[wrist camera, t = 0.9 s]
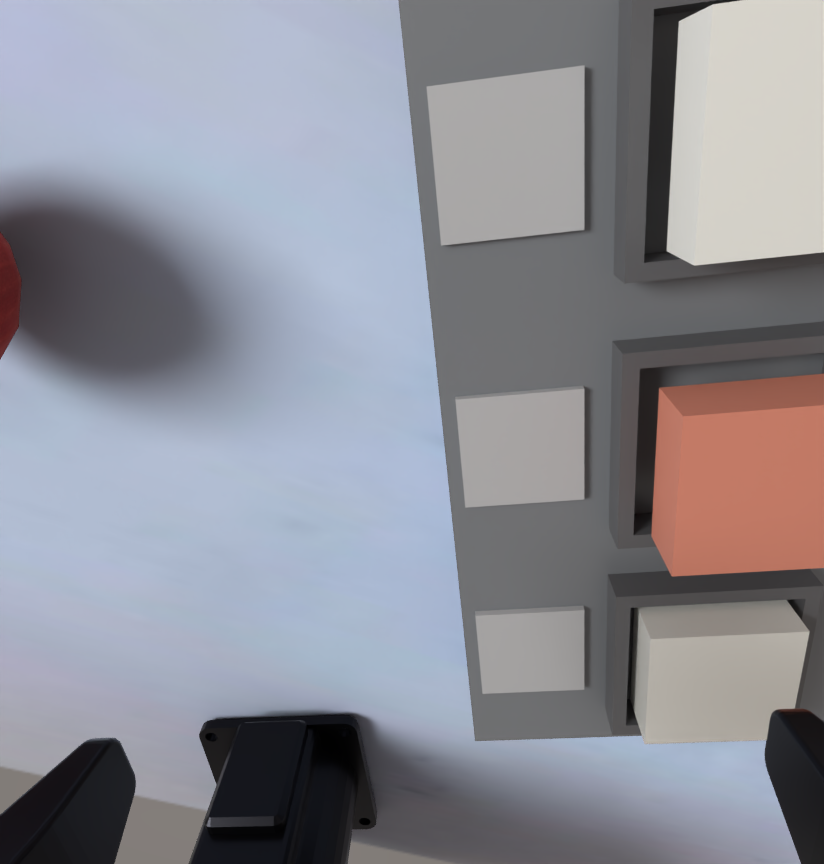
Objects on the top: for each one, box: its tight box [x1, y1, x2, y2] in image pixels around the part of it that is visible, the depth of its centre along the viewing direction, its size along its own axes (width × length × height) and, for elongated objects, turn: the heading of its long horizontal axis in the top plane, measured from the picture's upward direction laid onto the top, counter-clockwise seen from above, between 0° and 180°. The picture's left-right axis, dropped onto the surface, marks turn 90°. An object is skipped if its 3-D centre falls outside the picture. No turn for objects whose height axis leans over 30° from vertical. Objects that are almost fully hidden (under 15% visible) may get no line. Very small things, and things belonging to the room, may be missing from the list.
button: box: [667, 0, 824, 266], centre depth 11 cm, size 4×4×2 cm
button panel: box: [399, 0, 824, 741], centre depth 17 cm, size 22×12×4 cm, turn 7°
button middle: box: [651, 374, 824, 577], centre depth 14 cm, size 4×4×2 cm
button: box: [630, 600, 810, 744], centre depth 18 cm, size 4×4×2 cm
